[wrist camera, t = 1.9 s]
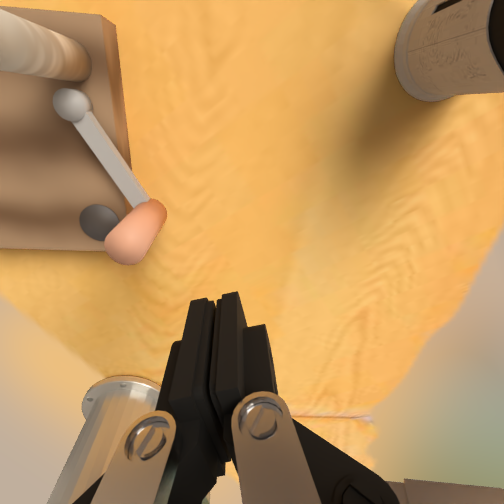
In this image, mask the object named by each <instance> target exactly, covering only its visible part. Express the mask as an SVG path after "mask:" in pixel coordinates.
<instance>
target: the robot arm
mask: <svg viewBox="0 0 504 504" xmlns="http://www.w3.org/2000/svg"><path fill="white" fill-rule="evenodd" d="M82 412H83V415H84V417H85V419H86V422H85V424H84V426H83V428H82V430H81V432H80V434H79V437H78V439H77V441H76V443H75V445H74V447H73V450H72V451H71V454H70V456H69V458H68V460H67V462H66V464H65V466H64V468H63V470H62V473H61V475H60V477H59V479H58V481H57V483H56V485H55V488H54V490H53V492H52V494H51V496H50V498H49V500H48V502H47V504H210V490H211V489H212V488H213V486H214V485H215V484H216V482H217V481H216V480H217V477H218V476H223V475H225V462H230V461H231V458H232V461H233V463H234V466H235V468H236V471H237V473H238V476H239V482H240V489H241V496H242V503H243V504H504V489H502V488H493V487H484V486H474V485H462V484H454V483H444V482H433V481H423V480H413V479H404V483H401V482H391V481H384V480H383V479H382V478H381V477H379V476H378V475H377V474H376V473H374V472H373V471H371V470H370V469H368V468H367V467H365V466H364V465H362V464H361V463H359V462H357V461H356V460H354V459H353V458H351V457H350V456H348V455H347V454H345V453H344V452H342V451H341V450H339V449H338V448H336V447H335V446H333V445H332V444H330V443H329V442H327V441H326V440H324V439H323V438H321V437H320V436H318V435H317V434H315V433H314V432H312V431H311V430H309V429H308V428H306V427H305V426H303V425H302V424H300V423H299V422H297V421H296V420H294V419H292V418H291V415H290V412H289V409H288V407H287V405H286V403H285V401H284V400H283V399H282V398H281V397H279V396H278V390H277V384H276V377H275V370H274V364H273V358H272V352H271V347H270V343H269V338H268V334H267V330H266V326H265V324H262V325H257V326H252V327H247V323H246V319H245V316H244V312H243V308H242V304H241V301H240V297H239V294H238V292H232V293H227V294H223V295H222V299H218V300H217V305H216V306H215V303H214V301H208V299H207V298H202V299H197V300H192V301H191V302H190V306H189V310H188V315H187V319H186V324H185V328H184V332H183V337H182V340H180V341H175V342H174V343H173V344H172V347H171V351H170V355H169V358H168V362H167V366H166V370H165V374H164V378H163V381H162V385H161V386H159V385H158V384H156V383H154V382H152V381H150V380H147V379H144V378H140V377H135V376H115V377H110V378H106V379H103V380H101V381H99V382H97V383H96V384H94V385H93V386H92V387H91V388H90V389H89V390H88V391H87V393H86V395H85V397H84V399H83V402H82Z"/></svg>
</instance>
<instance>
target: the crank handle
mask: <svg viewBox="0 0 504 504" xmlns="http://www.w3.org/2000/svg"><path fill="white" fill-rule="evenodd" d="M53 106H54V109H55V111H56V112H57V113H58V115H59V116H61V117H62V118H63V119H65V120H68V121H71V122H72V123H73V124H74V126H75V127H76V129H77V130H78V131H79V133H80V134H81V136H82V137H83V138H84V140H85V141H86V143H87V144H88V145H89V147H90V148H91V150H92V151H93V152H94V154H95V155H96V157H97V158H98V159H99V161H100V162H101V164H102V165H103V166H104V168H105V169H106V171H107V172H108V173H109V175H110V176H111V178H112V179H113V180H114V182H115V183H116V185H117V186H118V187H119V189H120V190H121V192H122V193H123V194H124V196H125V197H126V198H127V200H128V201H129V203H130V204H131V205H132V207H133V208H134V209H133V210H132V211H131V212H130V213H129V214H128V215H127V216H126V217H125V218H124V219H123V220H122V221H121V222H120V223H119V224H118V225H117V226H116V227H115V228H114V229H113V230H112V231H111V232H110V233H109V234H108V235H107V236H106V238H105V242H104V247H105V250H106V252H107V254H108V255H109V257H110V258H111V259H112V260H114V261H115V262H117V263H120V264H123V265H133V264H136V263H138V262H140V261H141V260H142V259H143V258H144V256H145V254H146V253H147V251H148V249H149V248H150V246H151V244H152V243H153V241H154V239H155V238H156V236H157V234H158V233H159V231H160V229H161V228H162V226H163V224H164V223H165V221H166V219H167V211H166V208H165V207H164V205H163V204H162V203H161V202H159V201H157V200H155V199H150V198H149V196H148V195H147V193H146V192H145V190H144V189H143V187H142V186H141V184H140V183H139V181H138V180H137V178H136V177H135V175H134V174H133V172H132V171H131V169H130V168H129V166H128V165H127V164H126V162H125V161H124V159H123V158H122V156H121V155H120V153H119V152H118V150H117V149H116V147H115V146H114V144H113V143H112V141H111V140H110V138H109V137H108V135H107V134H106V133H105V131H104V130H103V128H102V127H101V125H100V124H99V122H98V121H97V119H96V118H95V116H94V115H93V104H92V101H91V99H90V98H89V96H88V95H87V94H85V93H84V92H82V91H80V90H76V89H67V88H62V89H59V90H57V91H56V92H55V93H54V96H53Z"/></svg>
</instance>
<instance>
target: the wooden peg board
mask: <svg viewBox="0 0 504 504" xmlns="http://www.w3.org/2000/svg"><path fill="white" fill-rule="evenodd" d="M62 88H67V89H76V90H80V91H82V92H84V93H85V94H87V95H88V96H89V98H90V99H91V101H92V104H93V115H94V116H95V118H96V119H97V121H98V122H99V124H100V125H101V127H102V128H103V130H104V131H105V133H106V134H107V135H108V137H109V138H110V140H111V141H112V143H113V144H114V146H115V147H116V149H117V150H118V152H119V153H120V155H121V156H122V158H123V159H124V161H125V162H126V164H127V165H128V166H129V168H130V169H131V171H132V167H131V158H130V149H129V140H128V131H127V122H126V114H125V105H124V96H123V87H122V78H121V69H120V61H119V52H118V43H117V34H116V25H115V24H113V23H112V22H110V21H109V20H107V19H106V18H105V17H103V16H102V15H97V14H86V13H74V12H63V11H52V10H40V9H29V8H17V7H6V6H0V248H10V249H44V250H78V251H106V250H105V247H104V242H105V238H106V236H107V235H108V234H109V233H110V232H111V231H112V230H113V229H114V228H115V227H116V226H117V225H118V224H119V223H120V222H121V221H122V220H123V219H124V218H125V217H126V216H127V215H128V214H129V213H130V212H131V211H132V210H133V209H134V208H133V207H132V205H131V204H130V203H129V201H128V200H127V198H126V197H125V196H124V194H123V193H122V192H121V190H120V189H119V187H118V186H117V185H116V183H115V182H114V180H113V179H112V178H111V176H110V175H109V173H108V172H107V171H106V169H105V168H104V166H103V165H102V164H101V162H100V161H99V159H98V158H97V157H96V155H95V154H94V152H93V151H92V150H91V148H90V147H89V145H88V144H87V143H86V141H85V140H84V138H83V137H82V136H81V134H80V133H79V131H78V130H77V129H76V127H75V126H74V124H73V123H72V122H71V121H68V120H65V119H63V118H62V117H61V116H59V115H58V113H57V112H56V111H55V109H54V106H53V96H54V93H55V92H56V91H57V90H59V89H62Z"/></svg>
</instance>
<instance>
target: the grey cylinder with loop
mask: <svg viewBox="0 0 504 504" xmlns="http://www.w3.org/2000/svg"><path fill="white" fill-rule="evenodd" d="M394 65H395V70H396V75H397V77H398V80H399V82H400V84H401V85H402V87H403V88H404V90H405V91H406V92H407V93H408V94H409V95H411V96H413V97H414V98H416V99H419V100H422V101H428V102H434V101H441V100H444V99H447V98H450V97H452V96H454V95H464V94H482V93H500V92H504V0H418V1H417V2H416V3H415V4H414V5H413V7H412V8H411V10H410V11H409V12H408V14H407V15H406V17H405V19H404V21H403V23H402V25H401V27H400V30H399V33H398V35H397V40H396V44H395V51H394Z"/></svg>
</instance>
